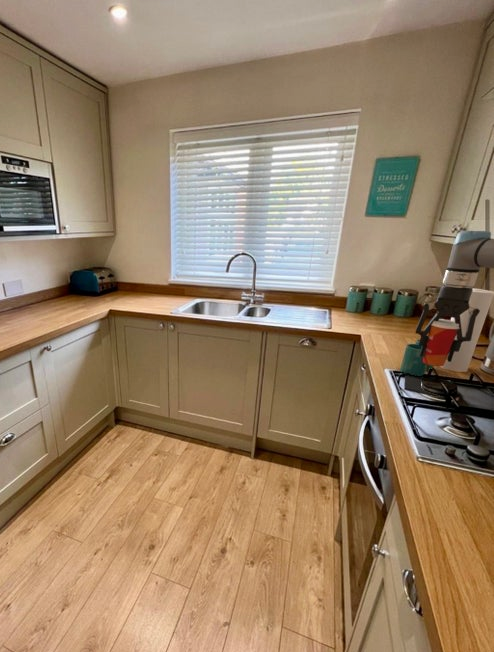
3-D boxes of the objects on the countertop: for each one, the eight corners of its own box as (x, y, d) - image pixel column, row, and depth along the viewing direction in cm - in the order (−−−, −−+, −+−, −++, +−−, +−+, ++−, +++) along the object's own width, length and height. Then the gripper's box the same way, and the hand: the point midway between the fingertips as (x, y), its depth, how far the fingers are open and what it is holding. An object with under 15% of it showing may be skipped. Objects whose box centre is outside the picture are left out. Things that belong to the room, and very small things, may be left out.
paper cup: (423, 357, 112) (434, 317, 107) (450, 364, 106) (464, 322, 101) (415, 362, 107) (427, 320, 102) (443, 370, 102) (457, 326, 97)
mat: (446, 385, 111) (447, 384, 111) (449, 399, 102) (450, 398, 102) (404, 376, 117) (405, 375, 117) (404, 389, 108) (404, 388, 108)
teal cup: (423, 371, 122) (431, 346, 119) (424, 378, 116) (432, 352, 113) (400, 367, 126) (406, 342, 122) (399, 373, 120) (406, 347, 117)
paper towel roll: (471, 369, 126) (499, 290, 115) (460, 373, 121) (488, 292, 111) (443, 360, 133) (467, 286, 123) (432, 365, 129) (455, 287, 118)
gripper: (418, 283, 100) (398, 354, 108) (503, 291, 90) (475, 368, 98) (417, 281, 106) (399, 348, 114) (498, 287, 96) (472, 361, 104)
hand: (434, 357), depth 106 cm, fingers closed on paper cup, 7 cm apart
